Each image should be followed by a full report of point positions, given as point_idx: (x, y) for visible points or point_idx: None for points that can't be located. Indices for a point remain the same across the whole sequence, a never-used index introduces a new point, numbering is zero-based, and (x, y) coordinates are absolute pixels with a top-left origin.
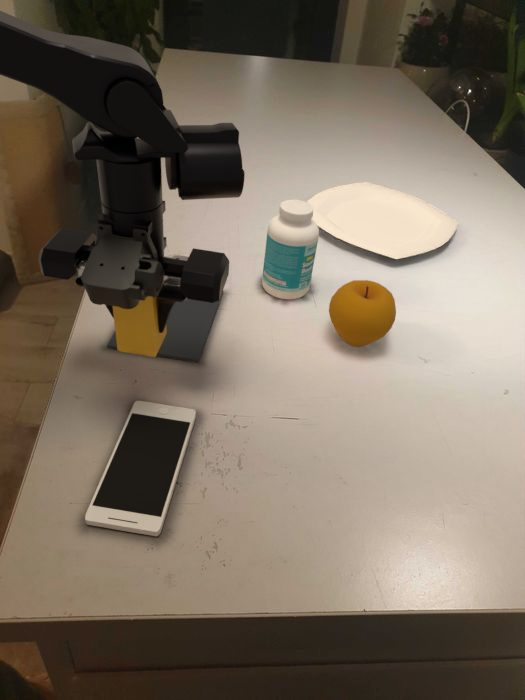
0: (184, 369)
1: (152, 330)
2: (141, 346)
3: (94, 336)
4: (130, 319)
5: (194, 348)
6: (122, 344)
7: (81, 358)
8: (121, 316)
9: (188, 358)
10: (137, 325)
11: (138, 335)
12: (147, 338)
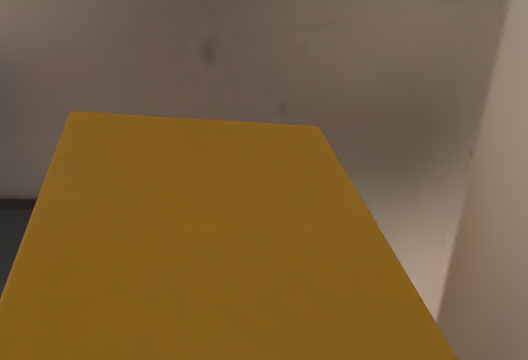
0: (15, 154)
1: (32, 269)
2: (164, 151)
3: (397, 245)
4: (272, 340)
5: (10, 263)
6: (298, 151)
7: (434, 143)
8: (373, 353)
9: (12, 209)
10: (193, 291)
11: (185, 211)
12: (105, 199)
